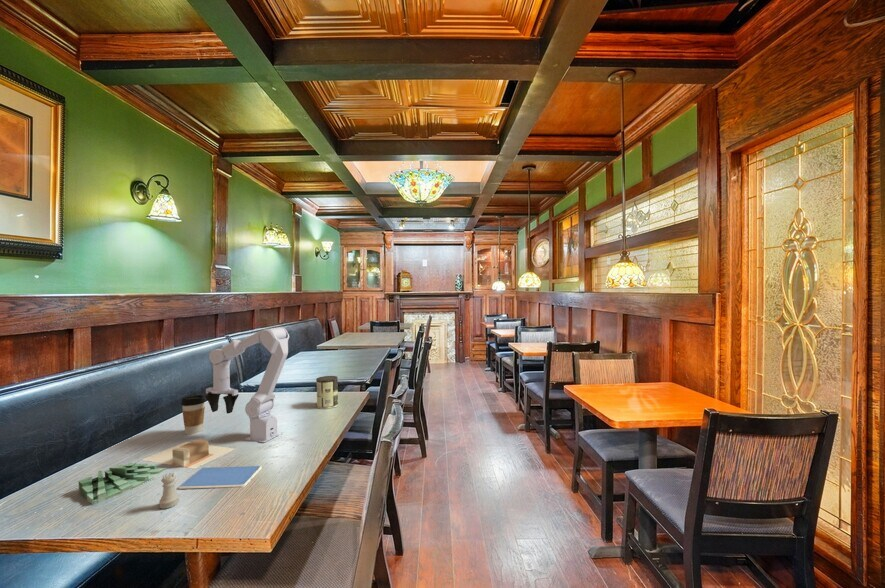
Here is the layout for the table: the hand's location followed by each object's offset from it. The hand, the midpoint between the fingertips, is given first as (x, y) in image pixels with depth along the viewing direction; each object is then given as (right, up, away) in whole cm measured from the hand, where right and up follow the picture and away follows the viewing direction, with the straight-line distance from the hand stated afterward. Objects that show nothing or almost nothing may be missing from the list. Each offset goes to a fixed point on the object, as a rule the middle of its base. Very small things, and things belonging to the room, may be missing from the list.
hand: (222, 412), depth 151 cm
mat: (-1, -10, -19) cm, 21 cm away
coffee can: (+31, -9, +38) cm, 49 cm away
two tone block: (+3, -9, -23) cm, 25 cm away
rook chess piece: (+15, -10, -50) cm, 53 cm away
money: (-8, -10, -39) cm, 42 cm away
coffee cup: (-14, -10, +3) cm, 17 cm away
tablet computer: (+21, -10, -35) cm, 42 cm away
